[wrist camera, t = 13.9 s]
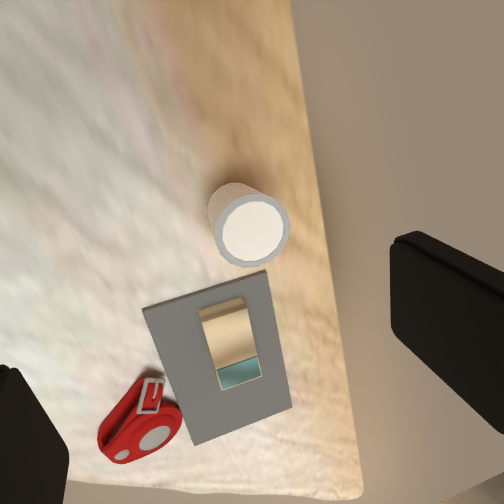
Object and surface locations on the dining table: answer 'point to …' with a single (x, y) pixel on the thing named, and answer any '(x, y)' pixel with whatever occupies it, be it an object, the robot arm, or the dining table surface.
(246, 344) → the birch tile
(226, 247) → the white cylinder
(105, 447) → the tracker holder
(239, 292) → the rubber mat
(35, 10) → the dining table surface
